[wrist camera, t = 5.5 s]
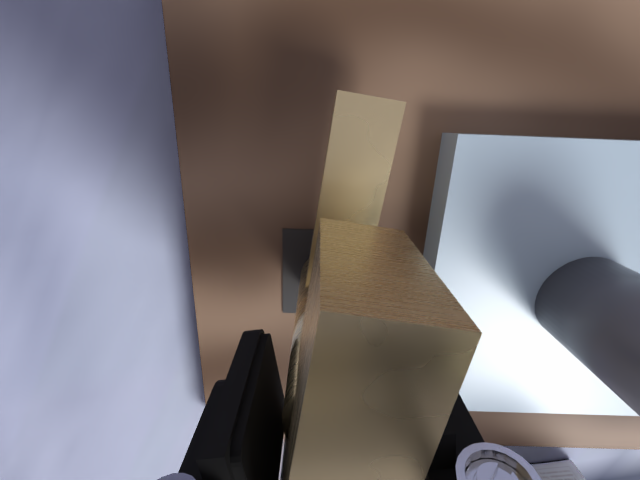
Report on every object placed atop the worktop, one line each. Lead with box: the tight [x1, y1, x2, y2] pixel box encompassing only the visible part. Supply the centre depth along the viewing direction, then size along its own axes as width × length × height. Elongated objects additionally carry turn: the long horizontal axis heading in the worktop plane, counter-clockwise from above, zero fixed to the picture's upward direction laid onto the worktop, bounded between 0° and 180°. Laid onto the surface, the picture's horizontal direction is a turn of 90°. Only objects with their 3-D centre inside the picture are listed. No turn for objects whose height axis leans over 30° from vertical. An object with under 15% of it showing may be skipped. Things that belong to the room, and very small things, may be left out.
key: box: [279, 90, 482, 480], centre depth 9 cm, size 2×11×9 cm, turn 171°
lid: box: [423, 133, 640, 416], centre depth 11 cm, size 12×12×6 cm
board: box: [162, 0, 640, 449], centre depth 15 cm, size 22×24×2 cm
